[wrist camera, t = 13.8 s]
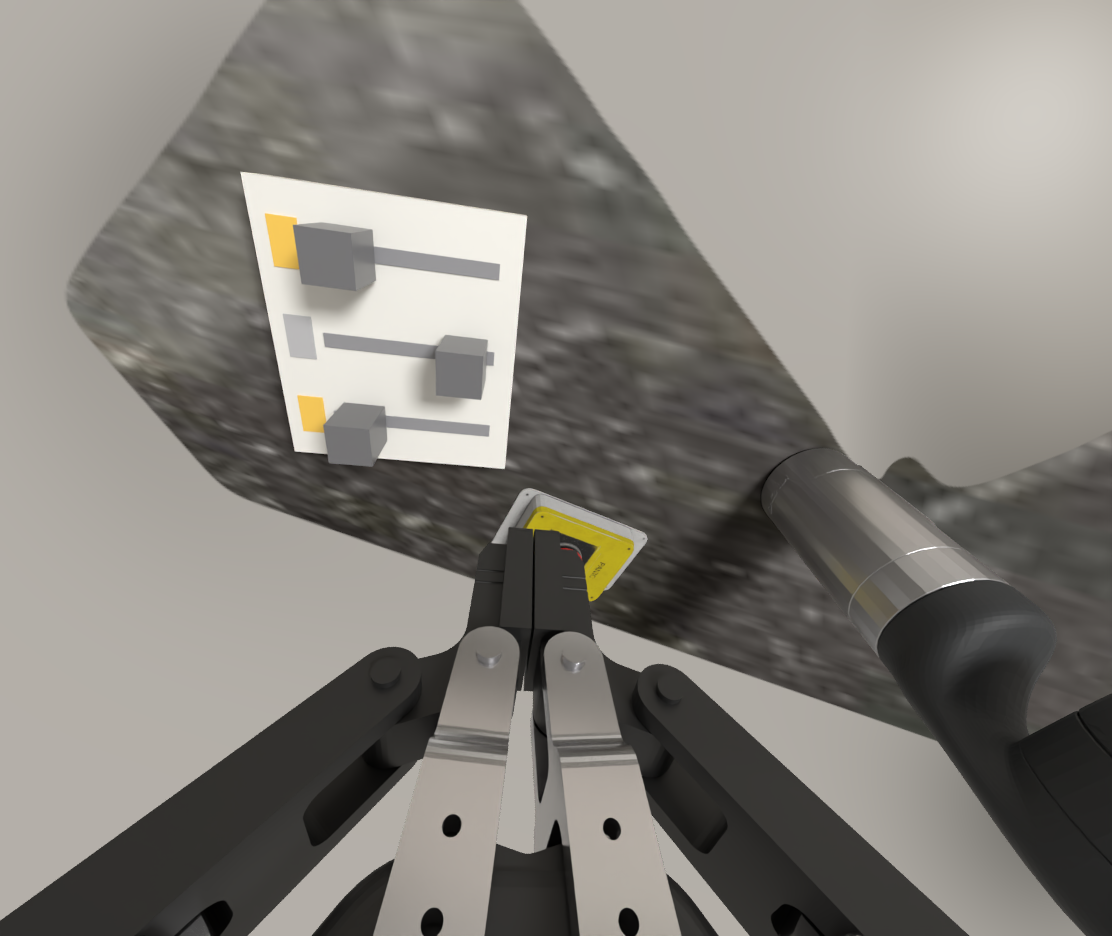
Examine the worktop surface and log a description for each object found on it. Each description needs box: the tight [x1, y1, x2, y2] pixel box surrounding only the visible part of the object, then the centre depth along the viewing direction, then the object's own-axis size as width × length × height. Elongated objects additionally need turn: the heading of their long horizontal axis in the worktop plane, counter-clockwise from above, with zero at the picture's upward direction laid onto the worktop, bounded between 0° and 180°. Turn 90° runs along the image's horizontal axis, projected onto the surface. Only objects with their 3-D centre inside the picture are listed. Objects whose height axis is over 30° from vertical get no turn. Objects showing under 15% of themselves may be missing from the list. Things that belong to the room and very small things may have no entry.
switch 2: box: [323, 402, 387, 467], centre depth 32 cm, size 3×3×4 cm
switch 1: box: [293, 222, 376, 291], centre depth 26 cm, size 3×3×4 cm
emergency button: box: [491, 488, 647, 601], centre depth 45 cm, size 9×4×15 cm
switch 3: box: [436, 335, 488, 400], centre depth 30 cm, size 3×3×4 cm
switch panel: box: [241, 172, 527, 469], centre depth 33 cm, size 17×19×3 cm
